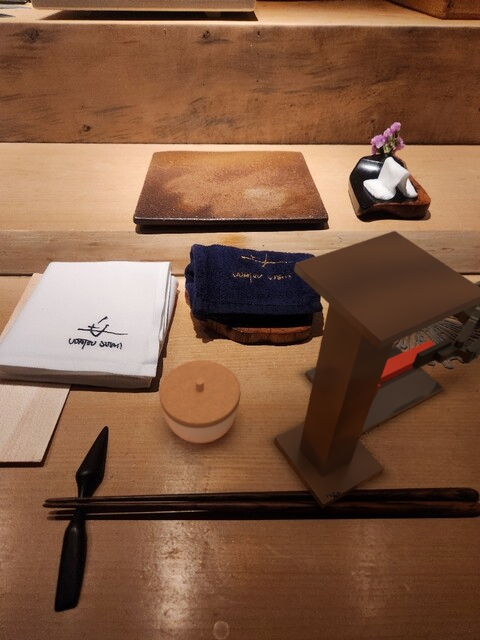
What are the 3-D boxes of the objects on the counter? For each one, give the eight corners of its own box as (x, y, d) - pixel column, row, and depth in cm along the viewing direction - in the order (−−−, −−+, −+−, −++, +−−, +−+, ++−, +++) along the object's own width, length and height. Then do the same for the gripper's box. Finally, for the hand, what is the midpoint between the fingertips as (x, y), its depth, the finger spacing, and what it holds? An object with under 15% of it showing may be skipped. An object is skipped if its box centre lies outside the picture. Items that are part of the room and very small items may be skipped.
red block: (442, 359, 75) (445, 353, 74) (347, 406, 68) (349, 400, 67) (422, 342, 78) (425, 336, 77) (328, 386, 71) (330, 379, 70)
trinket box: (149, 420, 66) (141, 378, 60) (207, 382, 72) (205, 340, 65) (195, 472, 60) (192, 431, 54) (254, 426, 66) (257, 384, 59)
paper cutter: (442, 391, 72) (443, 387, 71) (358, 436, 65) (359, 432, 65) (384, 339, 80) (385, 335, 79) (304, 374, 73) (305, 371, 73)
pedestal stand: (401, 466, 62) (488, 292, 42) (324, 512, 57) (381, 340, 37) (344, 403, 69) (394, 230, 49) (272, 439, 64) (295, 263, 44)
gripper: (541, 351, 73) (441, 407, 65) (443, 282, 86) (348, 321, 77) (565, 316, 68) (459, 372, 59) (457, 249, 81) (357, 286, 72)
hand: (396, 343), depth 68 cm, fingers open, 7 cm apart
